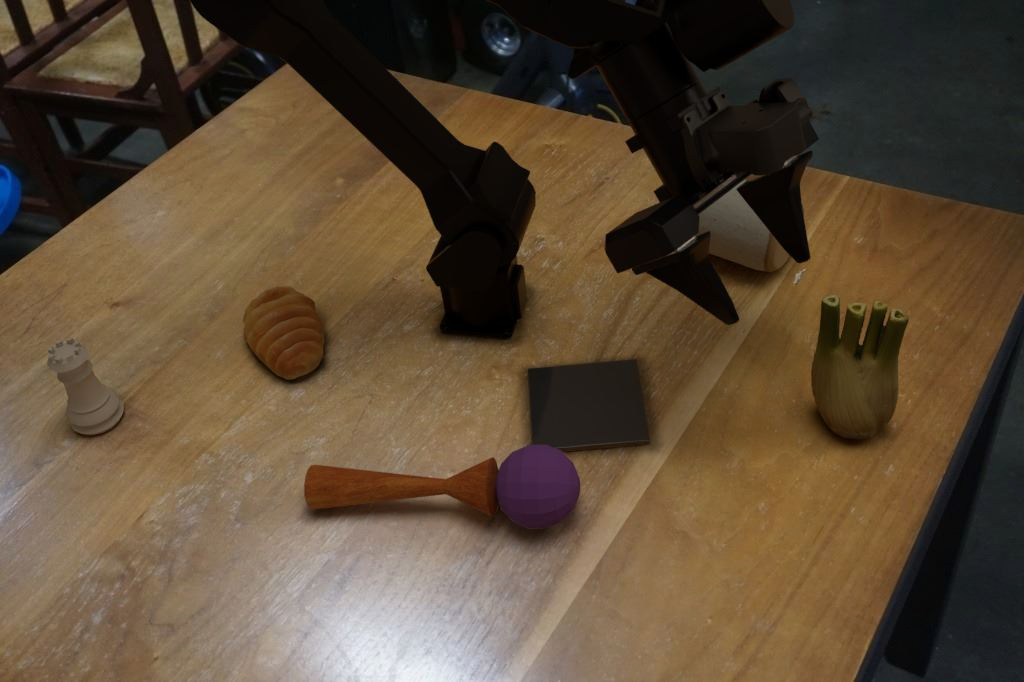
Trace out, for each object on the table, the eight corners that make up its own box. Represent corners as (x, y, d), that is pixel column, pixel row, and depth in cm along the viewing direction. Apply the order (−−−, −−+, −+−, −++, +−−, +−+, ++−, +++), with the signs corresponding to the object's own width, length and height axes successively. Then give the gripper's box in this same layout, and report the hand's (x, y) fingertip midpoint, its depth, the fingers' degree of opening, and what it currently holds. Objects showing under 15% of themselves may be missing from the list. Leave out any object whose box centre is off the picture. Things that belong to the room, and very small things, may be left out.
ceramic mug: (769, 292, 95) (776, 220, 90) (685, 264, 99) (687, 193, 94) (819, 228, 101) (828, 157, 96) (737, 203, 105) (742, 134, 100)
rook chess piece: (77, 446, 89) (39, 376, 84) (67, 412, 92) (30, 343, 87) (131, 424, 91) (97, 354, 85) (119, 391, 94) (86, 322, 88)
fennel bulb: (798, 415, 85) (812, 298, 76) (842, 385, 87) (860, 267, 78) (858, 459, 81) (879, 340, 73) (902, 426, 83) (928, 307, 75)
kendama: (316, 430, 83) (579, 426, 78) (333, 492, 86) (588, 491, 81) (289, 481, 78) (569, 480, 73) (309, 544, 81) (578, 547, 77)
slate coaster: (533, 454, 84) (532, 450, 84) (528, 372, 91) (527, 368, 91) (650, 444, 84) (650, 440, 84) (636, 362, 91) (636, 358, 90)
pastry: (344, 366, 93) (335, 333, 91) (269, 396, 92) (257, 363, 89) (311, 304, 100) (302, 272, 97) (240, 331, 98) (228, 298, 96)
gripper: (656, 116, 65) (780, 338, 68) (822, 7, 75) (925, 204, 78) (551, 171, 75) (664, 365, 77) (711, 68, 85) (807, 242, 87)
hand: (770, 291), depth 79 cm, fingers open, 9 cm apart
